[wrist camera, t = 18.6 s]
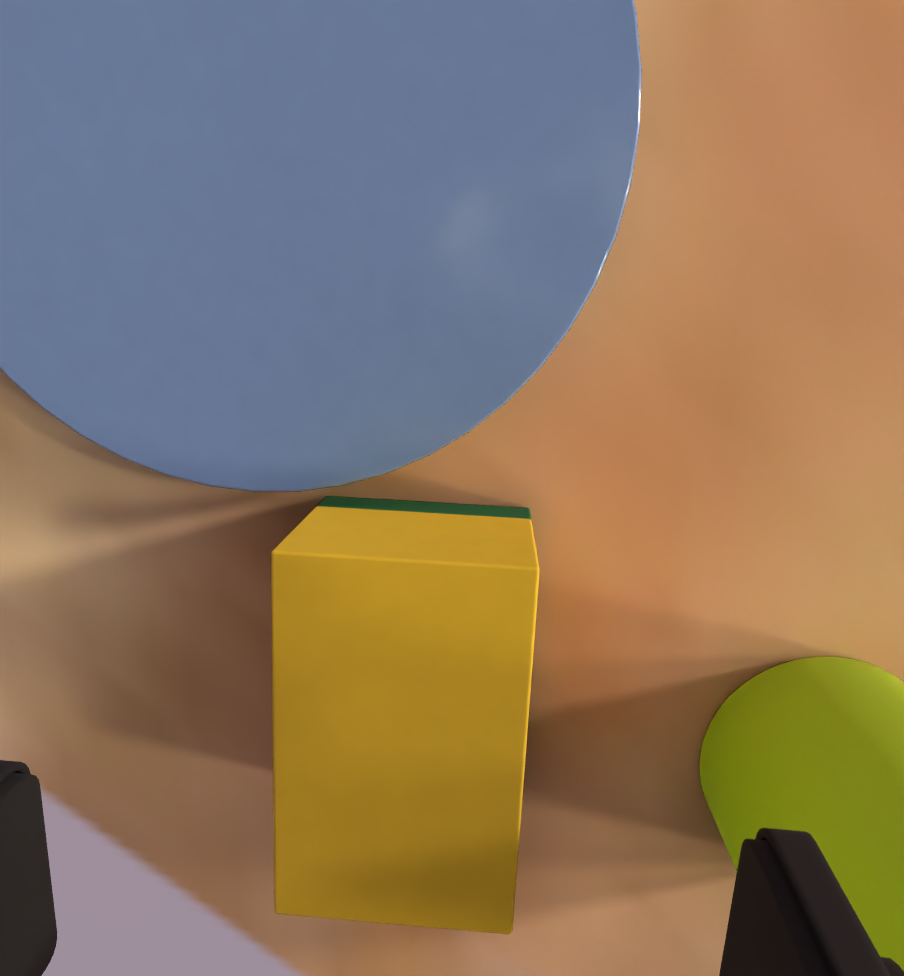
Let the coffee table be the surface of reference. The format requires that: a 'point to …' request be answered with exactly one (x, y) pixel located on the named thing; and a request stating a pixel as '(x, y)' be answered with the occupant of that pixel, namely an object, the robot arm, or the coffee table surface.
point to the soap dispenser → (819, 776)
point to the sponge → (402, 711)
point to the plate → (302, 219)
